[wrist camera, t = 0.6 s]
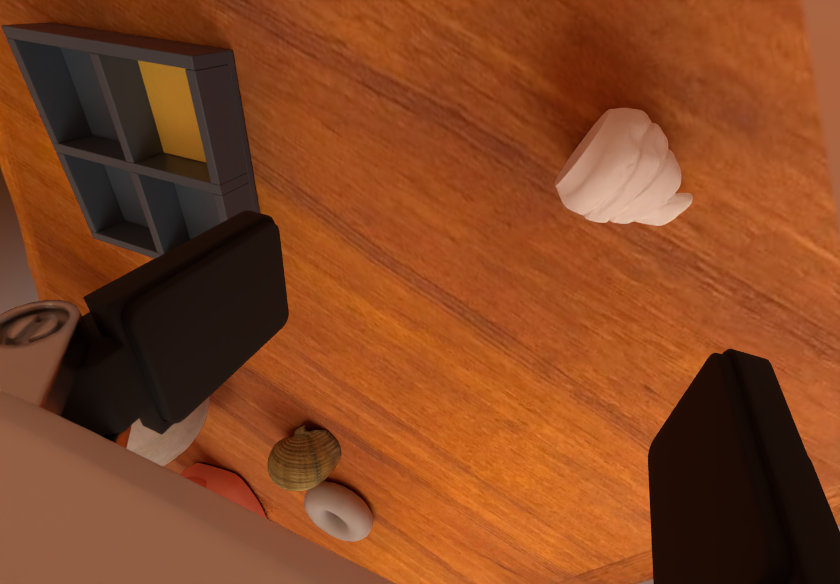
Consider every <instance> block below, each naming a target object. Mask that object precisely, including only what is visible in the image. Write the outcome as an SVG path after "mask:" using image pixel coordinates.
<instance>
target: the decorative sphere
mask: <svg viewBox="0 0 840 584" xmlns="http://www.w3.org/2000/svg"><path fill="white" fill-rule="evenodd" d="M208 408H209V397H208V398H207V399H206V400H205V401H204V402H203V403H202V404H201V405H199V406H198V407H197V408H196V409H195V410H194V411H193V412H192V413H191V414H190V415H189V416H188V417H187V418H186V419H184V420H183V421H182V422H180V423H176V424H173V425H172V426H171V427H170V428H169V429H168V430H167V431H166V432H165V433H163V434H162V435H161V434H159V433H157V432H155V431H153V430H151V429H149V428H146V427H144V426H143V425H142V423H141V421H140V419H138V420H137V421H135V422H134V423H133V424H132V425H131V431H130V435H129V440H128V444H127V448H126V449H128V450H130V451H132V452H134V453H136V454H138V455H140V456H142V457H144V458H146V459H148V460H150V461H152V462H154V463H156V464H158V465H160V466H164V465H166V464H167V463H169V462H171V461H172V460H174V459H175V458H176V457H178V456H179V455H180V454H181V453H183V452H184V451H185V450H186V449H187V448H188V447H189V446H190V445H191V443H192V442H193V441H194V440H195V438H196V437H197V436H198V434H199V432H200V431H201V429H202V427H203V425H204V422H205V420H206V417H207V413H208Z"/></svg>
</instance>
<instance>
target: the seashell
mask: <svg viewBox="0 0 840 584" xmlns="http://www.w3.org/2000/svg"><path fill="white" fill-rule="evenodd" d="M340 456H341V452H340V446H339V444H338V442H337V441H336V440H335V438H334V437H333V436H332V435H331V434H330V432H328V431H327V430H322V431H321V430H313V431H309V432H307V431H306V430H305V425H303V426H301V427H299V428H297V429H296V430H295V435H294V436H293V437H288V438H284V439H282V440H280V441H279V442H277V443H276V444H275V446H274V447H273V449H272V450H271V452H270V455H269V458H268V471H269V475H270V477H271V479H272V481H273V482H274V483H275V484H277V485H278V486H279V487H281V488H283V489H286V490H289V491H301V490H307V489H311V488H313V487H315V486H317V485H318V484H320V483H321V482H322V481H323V480H325V479H326V478H327V477H328V476H329V475H330V473H331V472H332V471H333V469H334V468H335V466H336V465H337V463H338V461H339V459H340Z"/></svg>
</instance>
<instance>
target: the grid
mask: <svg viewBox="0 0 840 584" xmlns="http://www.w3.org/2000/svg"><path fill="white" fill-rule="evenodd" d="M2 29H3V31H4V33H5V36H6V37H7V41H8V43H9V45H10V47H11V50H12V52H13V54H14V57H15V59H16V61H17V64H18V66H19V68H20V70H21V73H22V75H23V77H24V80H25V82H26V84H27V87H28V89H29V91H30V93H31V96H32V98H33V100H34V103H35V105H36V107H37V110H38V112H39V114H40V116H41V119H42V121H43V123H44V126H45V128H46V130H47V133H48V135H49V137H50V139H51V142H52V144H53V146H54V148H55V151H56V152H57V155H58V157H59V160H60V162H61V164H62V167H63V169H64V171H65V173H66V176H67V178H68V180H69V183H70V185H71V187H72V190H73V192H74V194H75V196H76V199H77V201H78V203H79V206H80V208H81V210H82V213H83V215H84V217H85V220H86V222H87V224H88V226H89V229H90V231H91V234H92V236H93V238H94V239H98V240H101V241H104V242H107V243H110V244H113V245H116V246H119V247H122V248H125V249H128V250H131V251H134V252H137V253H140V254H143V255H146V256H149V257H152V258H157V257H159V256H161V255H163V254H164V253H166V252H168V251H170V250H172V249H174V248H176V247H177V246H179V245H181V244H183V243H185V242H187V241H189V240H190V239H192V238H194V237H196V236H198V235H200V234H202V233H203V232H205V231H207V230H209V229H211V228H213V227H215V226H216V225H218V224H220V223H222V222H224V221H226V220H227V219H229V218H231V217H233V216H235V215H237V214H239V213H240V212H242V211H245V210H251V211H254V212H257V213H260V212H259V206H258V200H257V194H256V188H255V182H254V176H253V170H252V164H251V158H250V152H249V146H248V140H247V134H246V128H245V122H244V116H243V110H242V104H241V98H240V92H239V86H238V80H237V74H236V68H235V62H234V57H233V51H232V50H228V49H222V48H215V47H209V46H202V45H195V44H189V43H182V42H176V41H169V40H162V39H156V38H149V37H143V36H136V35H130V34H123V33H116V32H110V31H103V30H97V29H90V28H83V27H77V26H70V25H64V24H57V23H36V24H16V25H2Z"/></svg>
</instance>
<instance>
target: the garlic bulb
mask: <svg viewBox="0 0 840 584" xmlns="http://www.w3.org/2000/svg"><path fill="white" fill-rule="evenodd" d="M681 177H682V176H681V169H680V167H679V164H678V163H677V160H676V158H675V155H674V153H673V152H672V151H671V150H669V149H668V140H667V137H666V136H665V134H664V133H663V131H662V130H661V128H660V127H659V125H657V124H655V123H652V122H651V120H650V119H649V117H648V115H647V114H646V113H645V112H644V111H642V110H638V109H631V108H616V109H609V110H607V111H606V112H605V113H604V114H603V115H602V116H601V117H600V118H599V119H598V121H597V122H596V123H595V124H594V125H593V127H592V128H591V129H590V130H589V132H588V133H587V134H586V136H585V137H584V138H583V140H582V141H581V142H580V144H579V145H578V146H577V148H576V149H575V150H574V152H573V153H572V155H571V156H570V158H569V159H568V161H567V162H566V164H565V165H564V167H563V168H562V170H561V172H560V173H559V175H558V177H557V178H556V181H555V183H554V185H555V187H556V188H557V190H558V194H559V196H560V198H561V200H562V203H563V204H564V206H565V207H566V208H568V209H569V210H571V211H574V212H576V213H578V214H580V215H584V217H585V218H586V219H588V220H590V221H594V222H600V223H605V222H607V221H608V220H610V221H611V222H613V223H620V224H628V223H630V222H633V221H636V222H639V223H643V224H649V225H655V226H661V225H664V224H667V223H669V222H670V221H672V220H673V219H675V218H676V217H677V216H678V215H679V214H680V213H682V212H683V211H685V210H686V209H687V208H688V207H689V206H690V205H691V203H692V201H693V196H692V194H691V193H676V191H677V190H678V189H679V187H680V184H681ZM675 193H676V194H675Z"/></svg>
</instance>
